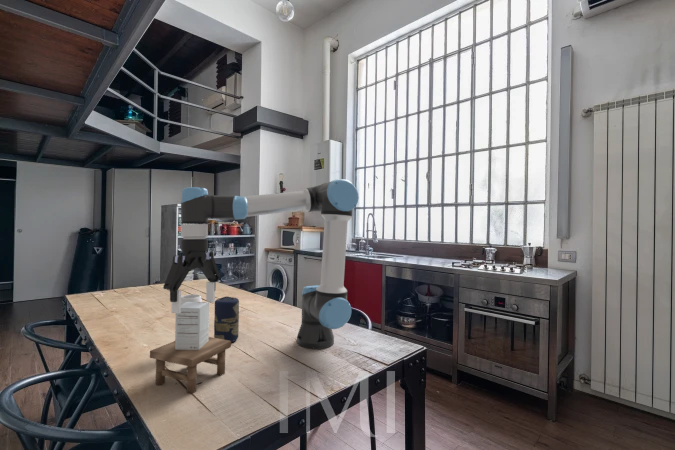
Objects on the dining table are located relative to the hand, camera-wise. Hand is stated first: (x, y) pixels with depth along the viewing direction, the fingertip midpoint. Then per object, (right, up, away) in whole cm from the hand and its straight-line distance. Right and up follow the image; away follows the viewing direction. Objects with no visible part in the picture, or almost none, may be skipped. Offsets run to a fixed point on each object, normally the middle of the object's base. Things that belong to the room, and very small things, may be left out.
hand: (194, 307), depth 99 cm
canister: (-1, -22, +32) cm, 39 cm away
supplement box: (-1, -12, 0) cm, 12 cm away
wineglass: (-10, -22, +18) cm, 30 cm away
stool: (-1, -22, 0) cm, 22 cm away
